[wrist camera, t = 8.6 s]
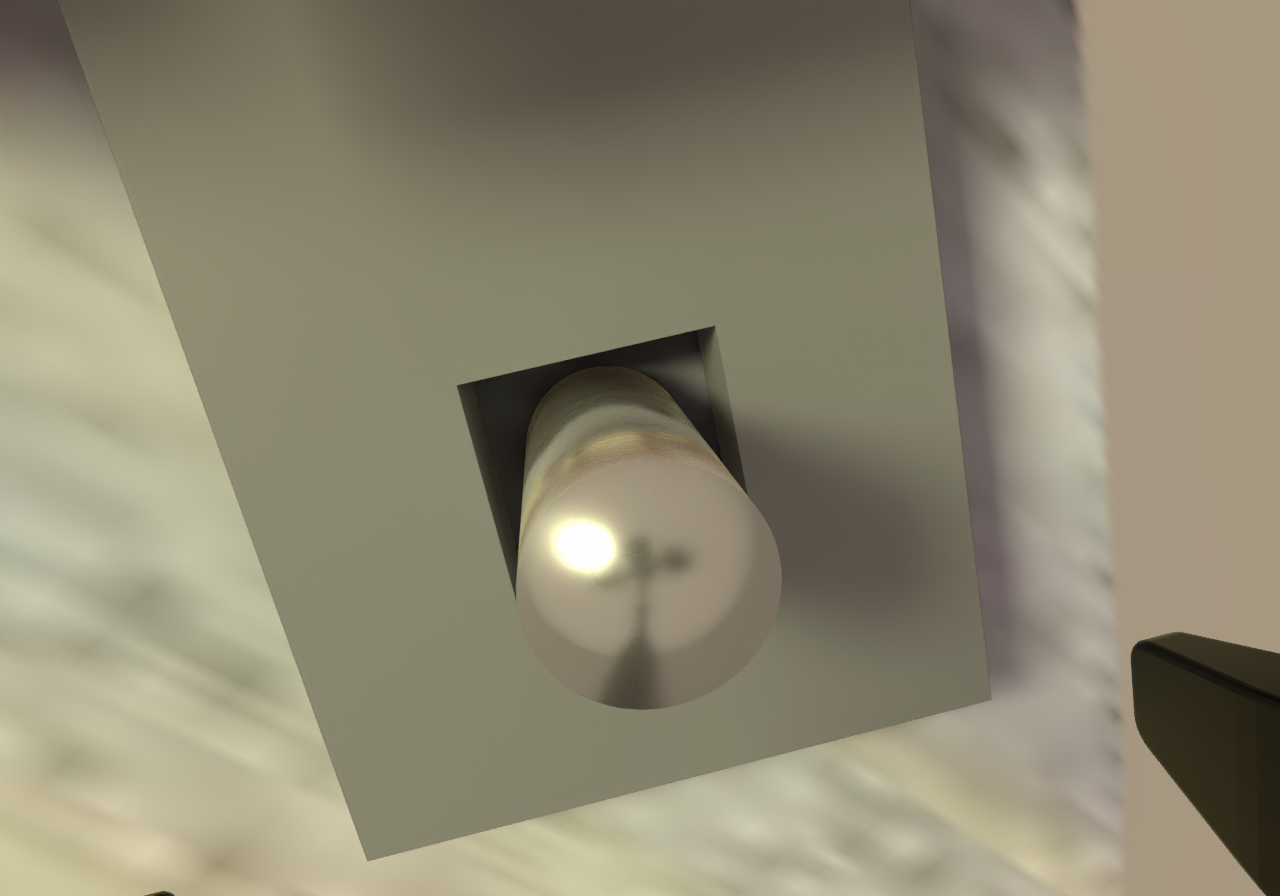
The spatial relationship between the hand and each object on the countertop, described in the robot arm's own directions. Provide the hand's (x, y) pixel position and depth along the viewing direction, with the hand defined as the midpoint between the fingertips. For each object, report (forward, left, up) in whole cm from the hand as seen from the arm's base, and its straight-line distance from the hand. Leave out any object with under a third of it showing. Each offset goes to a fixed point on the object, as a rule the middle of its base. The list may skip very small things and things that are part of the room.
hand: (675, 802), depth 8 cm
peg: (0, 0, -12) cm, 12 cm away
